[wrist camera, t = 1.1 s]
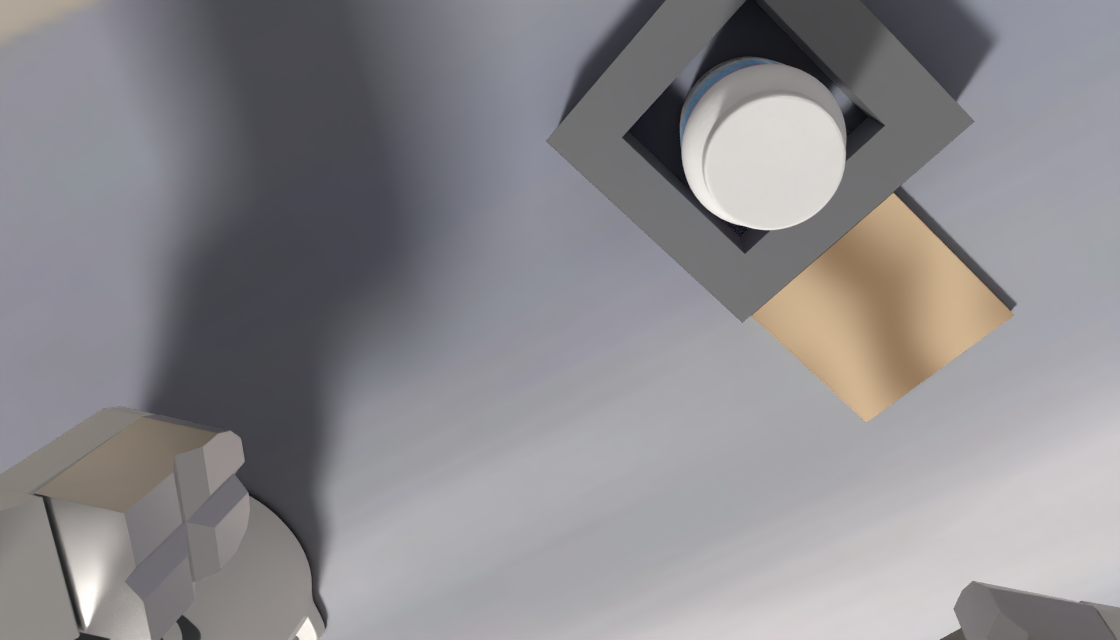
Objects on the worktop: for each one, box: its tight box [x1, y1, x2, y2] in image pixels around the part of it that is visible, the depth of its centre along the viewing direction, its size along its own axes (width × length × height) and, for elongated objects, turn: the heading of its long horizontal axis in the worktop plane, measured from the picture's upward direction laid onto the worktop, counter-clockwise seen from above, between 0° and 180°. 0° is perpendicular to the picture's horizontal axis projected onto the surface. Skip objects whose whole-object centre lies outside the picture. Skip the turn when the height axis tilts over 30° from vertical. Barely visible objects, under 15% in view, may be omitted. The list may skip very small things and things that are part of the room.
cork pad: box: [751, 193, 1014, 422], centre depth 36 cm, size 9×9×1 cm
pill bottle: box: [680, 56, 846, 230], centre depth 28 cm, size 6×6×11 cm
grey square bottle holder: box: [546, 0, 975, 323], centre depth 32 cm, size 13×13×3 cm
